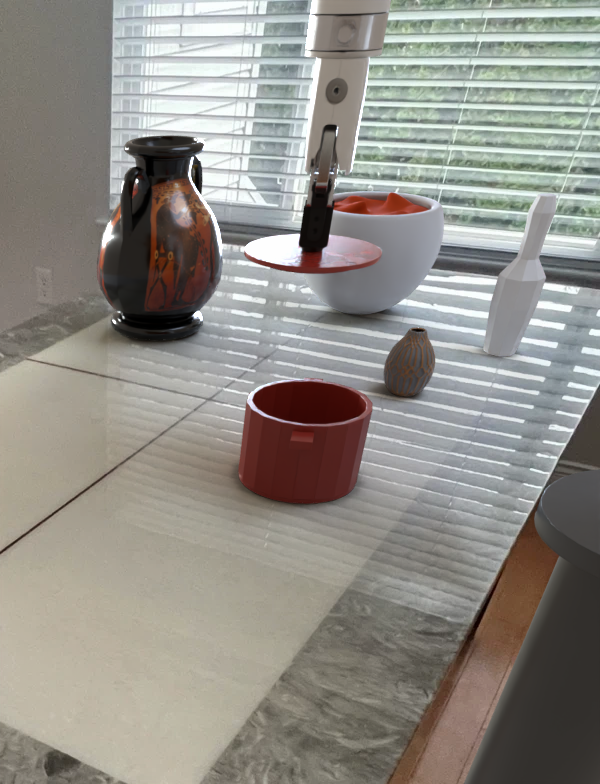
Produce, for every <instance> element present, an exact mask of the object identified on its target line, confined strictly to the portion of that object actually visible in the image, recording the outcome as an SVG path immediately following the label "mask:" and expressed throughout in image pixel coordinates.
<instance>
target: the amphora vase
mask: <svg viewBox="0 0 600 784" xmlns="http://www.w3.org/2000/svg"><path fill="white" fill-rule="evenodd" d="M206 146H207V145H206V142H205V141H204V140H203V139H202V138H199V137H196V136H191V135H190V136H189V135H173V134H172V135H150V136H141V137H136V138H131V139H130V140H127V141H126V142H125V144H124V146H123V151H124V152H125V153H126V154H127V155H129V156H131V157H132V158H134V160H135V166H133V167H129V169H127V170H126V172H125V174H124V176H123V180H122V182H121V190H120V197H119V199H120V201H119V203H117V205H116V207H115V208H114V209H113V211H112V212H111V214H110V216H109V218H108V219H107V222H106V224H105V227H104V228H103V231H102V235H101V238H100V240H99V241H100V242H99V243H98V244H99V245H98V250H97V257H96V280H97V282H98V286H99V289H100V291H101V293H102V294H103V296H104V298H105V300H106V301H107V303H108V304H109V306H111V308H112V309H113V310H114V312H113V314H112V315H111V318H110V326H112V329H113V330H114V331H115V332H117V333H119V335H122V336H124V337H126V338H130V339H134V340H140V341H150V342H152V341H154V342H155V341H157V342H162V341H172V340H179V339H182V338H186V337H189V336H191V335H192V334H196V332H198V331H199V330H200V328H202V326H203V324H204V316H203V314H202V313H201V312H200V311H201V310H202V309H203V307H204V306H205V305H206V304H208V302H209V301H210V300H211V298H212V297H213V296H214V295H215V292H216V291H217V290H218V287H219V285H220V282H221V279H222V273H223V265H224V260H223V259H224V258H223V244H222V242H223V241H222V236H221V231H220V228H219V225H218V222H217V218H216V217H215V214H214V213H213V211H212V209H211V208H210V206H209V205H208V204H207V202H206V200H204V198H203V197H202V194H203V193H202V192H203V182H204V181H203V166H202V162H201V159H200V158H199V157H198V155H199V154H201V153H203V152H204V151H205V150H206Z"/></svg>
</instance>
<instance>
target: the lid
mask: <svg viewBox="0 0 600 784" xmlns="http://www.w3.org/2000/svg"><path fill="white" fill-rule="evenodd" d="M328 196H329V194H328ZM311 205H312V203H311ZM299 237H300V233H289V234H281V235H280V234H279V235H271V236H267V237H263V238H258V239H256V240H253V241H250V242H249V243H248V244H246V246H244V251H243V254H244V257H245V258H246V259H247V260H248V261H250V262H252V263H254V264H256V265H260V266H263V267H266V268H270V269H272V270H276V271H281V272H287V273H294V274H303V273H304V274H329V273H339V272H345V271H350V270H356V269H361V268H365V267H368V266H371V265H373V264H376V263H377V262H378V261H379V260H380V259H381V255H382V251H381V249H380V248H379V247H377V246H376V245H374V244H372V243H369V242H366V241H363V240H359V239H355V238H350V237H344V236H336V235H329V240H328V245H327V247H326V248H307V247H300V246H299Z"/></svg>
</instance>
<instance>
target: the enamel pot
mask: <svg viewBox="0 0 600 784" xmlns="http://www.w3.org/2000/svg"><path fill="white" fill-rule="evenodd" d="M373 405H374V404H373V401H372V400H371V399H370V398H369V396H367V395H366V394H365V393H363V392H362V391H359V390H358V389H356V388H354V387H351V386H347V385H344V384H341V383H337V382H334V381H333V382H332V381H326V380H324V378H318V377H317V378H316V377H303V379H293V378H292V379H285V380H278V381H277V380H276V381H272V382H269V383H267V384H266V383H265V384H261V385H259V386H257V387H256V388H254V389H252V391H250V392H249V393H248V394H247V398H246V402H245V411H244V418H243V426H242V427H243V428H242V435H241V443H240V452H239V461H238V469H237V472H238V473H237V474H238V478H239V479H238V480H239V481H240V482H241V484H242V485H243V486H244V487H245V488H246V489H248V490H249V491H250V492H252V493H254V494H256V495H258V496H261V497H264V498H267V499H268V500H269V499H270V500H273V501H278V502H283V503H289V504H299V505H301V504H302V505H303V504H304V505H306V504H308V505H309V504H321V503H327V502H333V501H336V500H339V499H342V498H344V497H345V496H347V495H348V494H350V493H351V492H352V491H353V490H354V488H355V487H356V484H357V482H358V477H359V473H360V468H361V464H362V461H363V460H362V459H363V456H364V451H365V447H366V446H365V445H366V441H367V436H368V432H369V427H370V423H371V418H372V413H373V407H374V406H373Z"/></svg>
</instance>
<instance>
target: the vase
mask: <svg viewBox="0 0 600 784" xmlns="http://www.w3.org/2000/svg"><path fill="white" fill-rule="evenodd" d="M435 368H436V352H435V348H434V346H433V344H432V343H431V340H430V338H429V334H428V330H427V329H426V328H424V327H420V326H415V327H410V328H409V329H408V331H407V332H406V334H405V335H404V336H403V337H401V339H399V340H398V341H397V342H396V343H395V344H394V345H393V346H392V348H391V349H390V351H389V353H388V354H387V356H386V359H385V361H384V365H383V372H382V373H383V376H382V377H383V382H384V385H385V387H386V389H387V390H388V392H389V393H391V394H393V395H396V396H399V397H412V396H416V395H417V394H419V393H420V392H422V391H423V390H424V389H425V388H427V386H428V384H429V383H430V381H431V379H432V377H433V374H434V372H435Z"/></svg>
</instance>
